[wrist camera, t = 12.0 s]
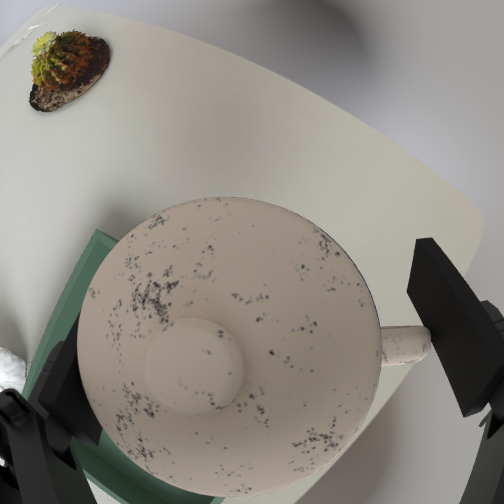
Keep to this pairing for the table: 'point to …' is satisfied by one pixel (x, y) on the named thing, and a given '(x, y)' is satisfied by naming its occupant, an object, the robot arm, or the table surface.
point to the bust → (11, 371)
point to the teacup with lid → (233, 347)
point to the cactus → (65, 68)
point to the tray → (106, 453)
